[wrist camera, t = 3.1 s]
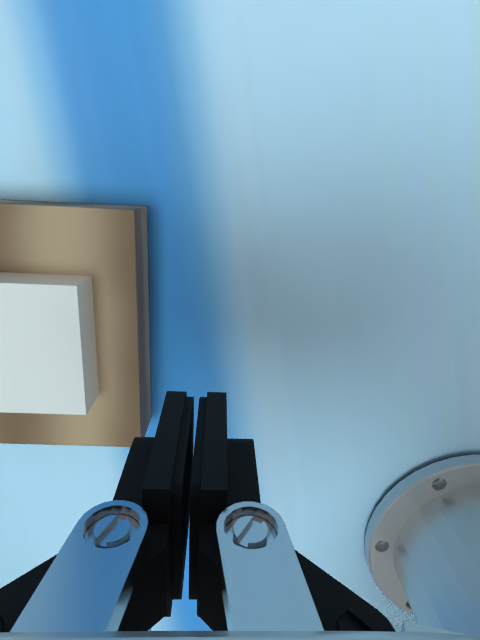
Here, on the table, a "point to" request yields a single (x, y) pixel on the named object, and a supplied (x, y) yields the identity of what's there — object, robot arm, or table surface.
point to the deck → (109, 312)
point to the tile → (47, 344)
